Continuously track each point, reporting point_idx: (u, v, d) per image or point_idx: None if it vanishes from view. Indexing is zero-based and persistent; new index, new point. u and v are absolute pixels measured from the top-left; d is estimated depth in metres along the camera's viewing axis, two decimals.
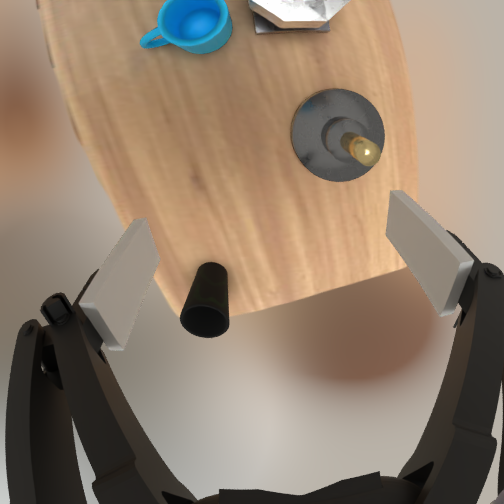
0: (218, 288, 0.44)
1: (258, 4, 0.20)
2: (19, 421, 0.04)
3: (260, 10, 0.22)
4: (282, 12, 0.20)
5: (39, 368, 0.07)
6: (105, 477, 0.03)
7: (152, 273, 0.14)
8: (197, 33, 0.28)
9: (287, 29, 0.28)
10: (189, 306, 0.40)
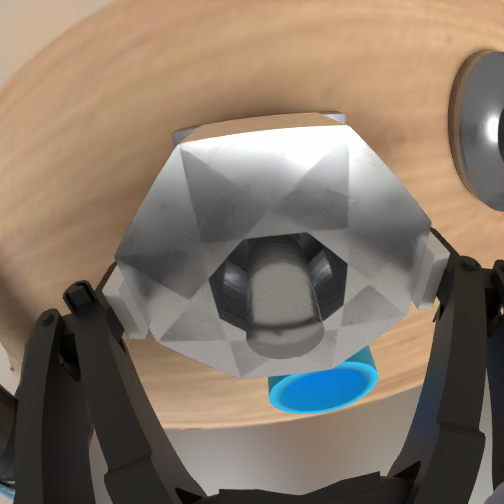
0: None
1: (351, 354, 0.12)
2: (31, 413, 0.05)
3: None
4: (384, 320, 0.11)
5: (56, 359, 0.07)
6: (118, 471, 0.04)
7: None
8: None
9: None
10: None
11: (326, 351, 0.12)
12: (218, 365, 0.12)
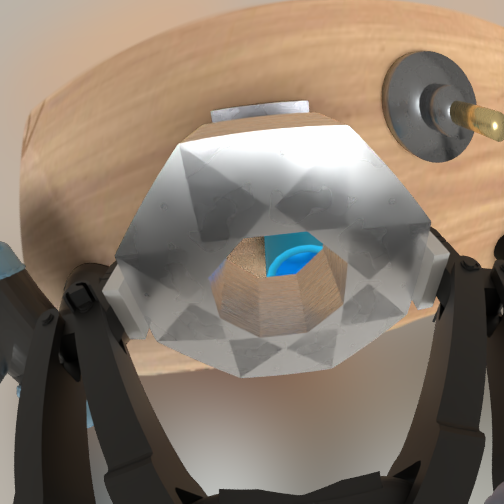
0: None
1: (351, 353, 0.12)
2: (31, 413, 0.05)
3: None
4: (384, 320, 0.11)
5: (56, 359, 0.07)
6: (118, 470, 0.04)
7: None
8: None
9: None
10: None
11: (326, 350, 0.12)
12: (218, 365, 0.12)
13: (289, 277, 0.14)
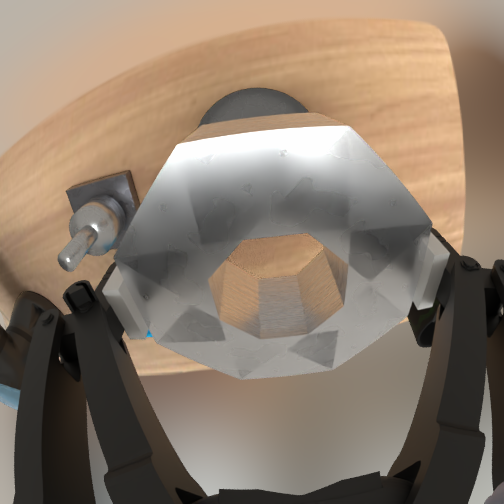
0: None
1: (351, 355, 0.12)
2: (31, 412, 0.05)
3: None
4: (385, 321, 0.11)
5: (56, 359, 0.07)
6: (118, 471, 0.04)
7: None
8: None
9: None
10: (417, 341, 0.33)
11: (326, 351, 0.12)
12: (218, 366, 0.12)
13: (289, 278, 0.14)
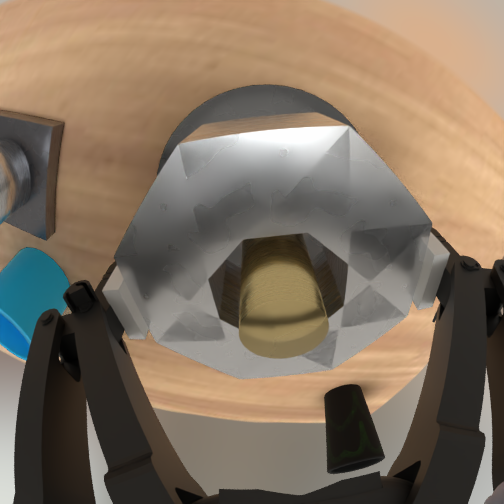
0: (347, 430, 0.28)
1: (351, 355, 0.12)
2: (31, 413, 0.05)
3: None
4: (385, 321, 0.11)
5: (56, 359, 0.07)
6: (118, 471, 0.04)
7: None
8: None
9: (44, 198, 0.17)
10: (328, 470, 0.25)
11: (326, 351, 0.12)
12: (218, 366, 0.12)
13: None
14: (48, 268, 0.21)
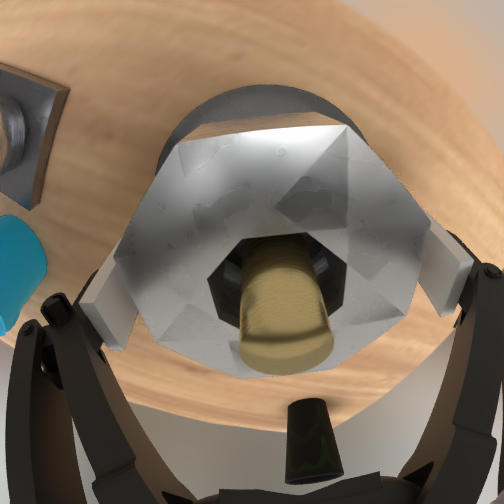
0: (309, 443, 0.28)
1: (350, 354, 0.12)
2: (19, 421, 0.04)
3: None
4: (384, 321, 0.11)
5: (39, 368, 0.07)
6: (105, 477, 0.03)
7: None
8: None
9: (34, 165, 0.15)
10: (286, 481, 0.25)
11: None
12: (217, 366, 0.12)
13: None
14: (27, 240, 0.19)
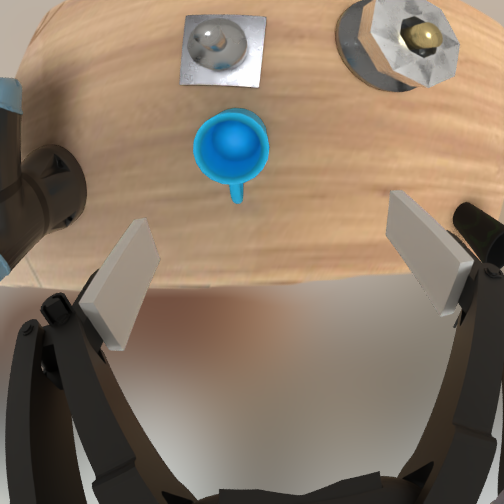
0: (482, 221, 0.32)
1: (455, 66, 0.19)
2: (19, 421, 0.04)
3: None
4: (454, 46, 0.17)
5: (39, 368, 0.07)
6: (105, 478, 0.03)
7: (152, 273, 0.14)
8: (242, 144, 0.34)
9: (260, 57, 0.28)
10: (485, 257, 0.30)
11: (446, 63, 0.19)
12: (418, 79, 0.21)
13: None
14: (254, 114, 0.32)
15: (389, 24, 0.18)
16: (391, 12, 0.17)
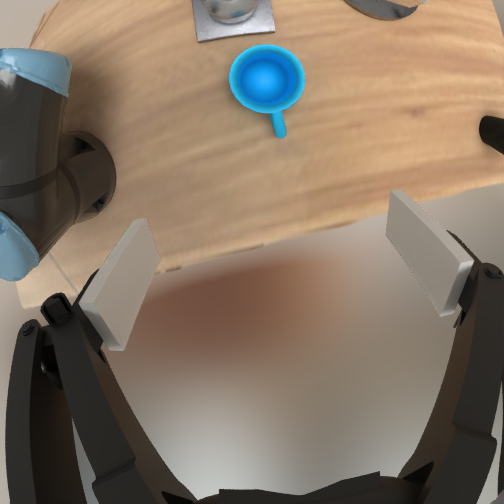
0: None
1: None
2: (18, 421, 0.04)
3: None
4: None
5: (39, 368, 0.07)
6: (105, 477, 0.03)
7: (152, 273, 0.14)
8: (271, 84, 0.31)
9: (269, 4, 0.25)
10: None
11: None
12: None
13: None
14: None
15: None
16: None
